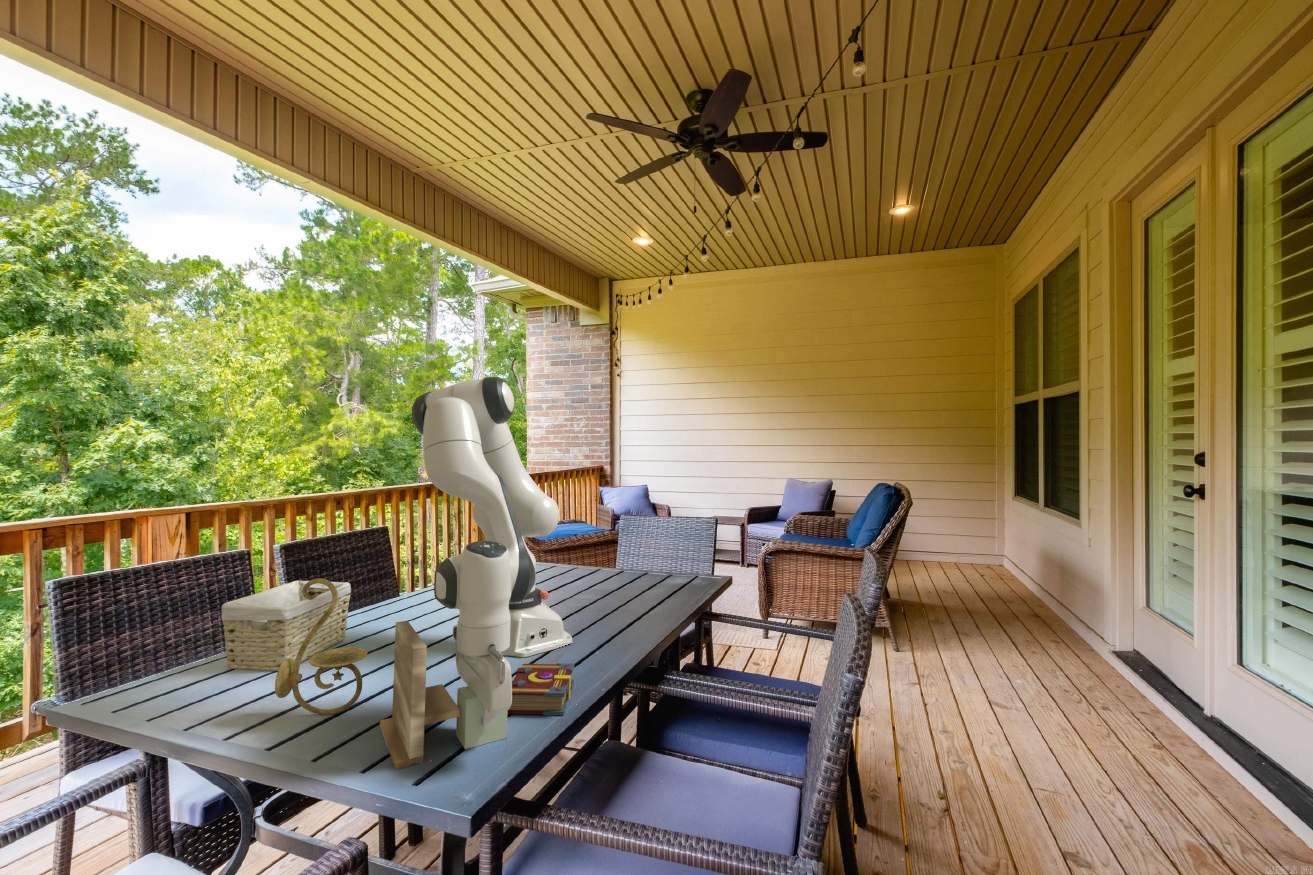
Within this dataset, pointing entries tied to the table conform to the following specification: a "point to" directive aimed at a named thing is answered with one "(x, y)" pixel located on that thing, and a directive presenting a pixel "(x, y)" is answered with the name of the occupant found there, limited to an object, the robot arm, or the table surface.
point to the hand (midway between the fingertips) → (481, 718)
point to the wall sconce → (319, 661)
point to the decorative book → (541, 689)
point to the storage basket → (282, 624)
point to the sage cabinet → (476, 721)
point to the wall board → (413, 700)
